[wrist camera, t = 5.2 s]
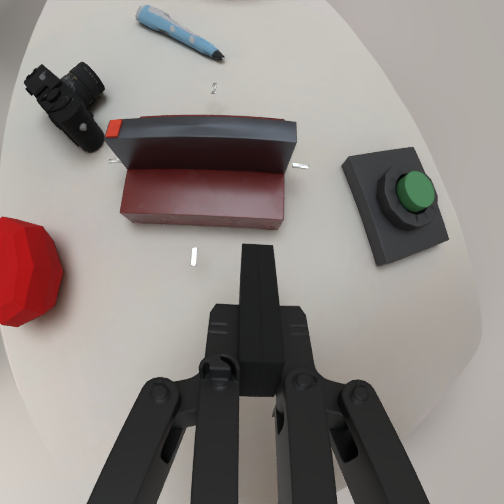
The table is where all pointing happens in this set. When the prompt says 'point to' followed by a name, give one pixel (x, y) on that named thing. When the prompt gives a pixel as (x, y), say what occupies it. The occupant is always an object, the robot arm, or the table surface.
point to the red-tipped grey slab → (203, 143)
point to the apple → (26, 272)
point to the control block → (392, 205)
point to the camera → (69, 102)
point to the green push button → (415, 191)
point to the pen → (175, 30)
